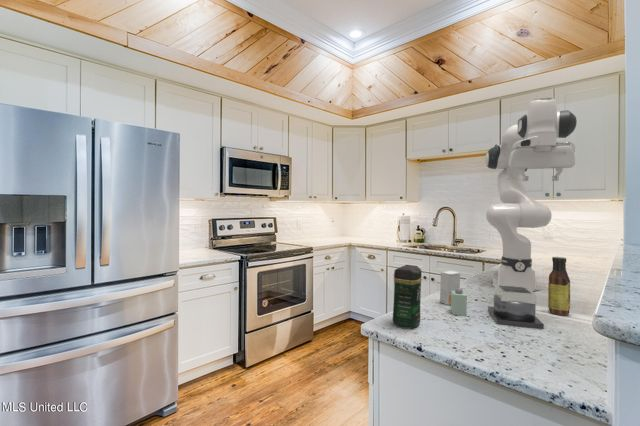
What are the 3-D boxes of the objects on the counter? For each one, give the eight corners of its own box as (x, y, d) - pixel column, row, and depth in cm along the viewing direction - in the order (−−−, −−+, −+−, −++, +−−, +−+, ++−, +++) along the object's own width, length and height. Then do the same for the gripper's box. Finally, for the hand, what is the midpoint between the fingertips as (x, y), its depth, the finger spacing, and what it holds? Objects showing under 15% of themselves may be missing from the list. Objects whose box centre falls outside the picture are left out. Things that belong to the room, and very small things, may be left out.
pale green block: (450, 309, 118) (451, 286, 118) (464, 310, 117) (464, 287, 117) (452, 314, 113) (452, 290, 113) (466, 315, 112) (467, 291, 111)
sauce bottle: (573, 317, 112) (575, 259, 111) (553, 315, 113) (555, 258, 112) (563, 310, 118) (565, 256, 117) (544, 309, 119) (545, 255, 119)
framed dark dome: (487, 310, 117) (488, 282, 117) (529, 314, 114) (529, 286, 113) (496, 324, 104) (497, 293, 104) (543, 329, 100) (544, 296, 100)
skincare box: (447, 305, 123) (448, 273, 122) (439, 302, 127) (440, 271, 126) (459, 303, 125) (460, 272, 125) (451, 300, 129) (451, 270, 129)
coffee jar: (415, 331, 97) (416, 269, 97) (389, 325, 101) (390, 266, 101) (423, 321, 106) (424, 264, 105) (399, 316, 110) (400, 262, 109)
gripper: (571, 143, 118) (569, 181, 118) (507, 145, 124) (506, 181, 124) (579, 139, 112) (578, 180, 112) (512, 142, 118) (511, 180, 118)
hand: (540, 181), depth 118 cm, fingers open, 8 cm apart
